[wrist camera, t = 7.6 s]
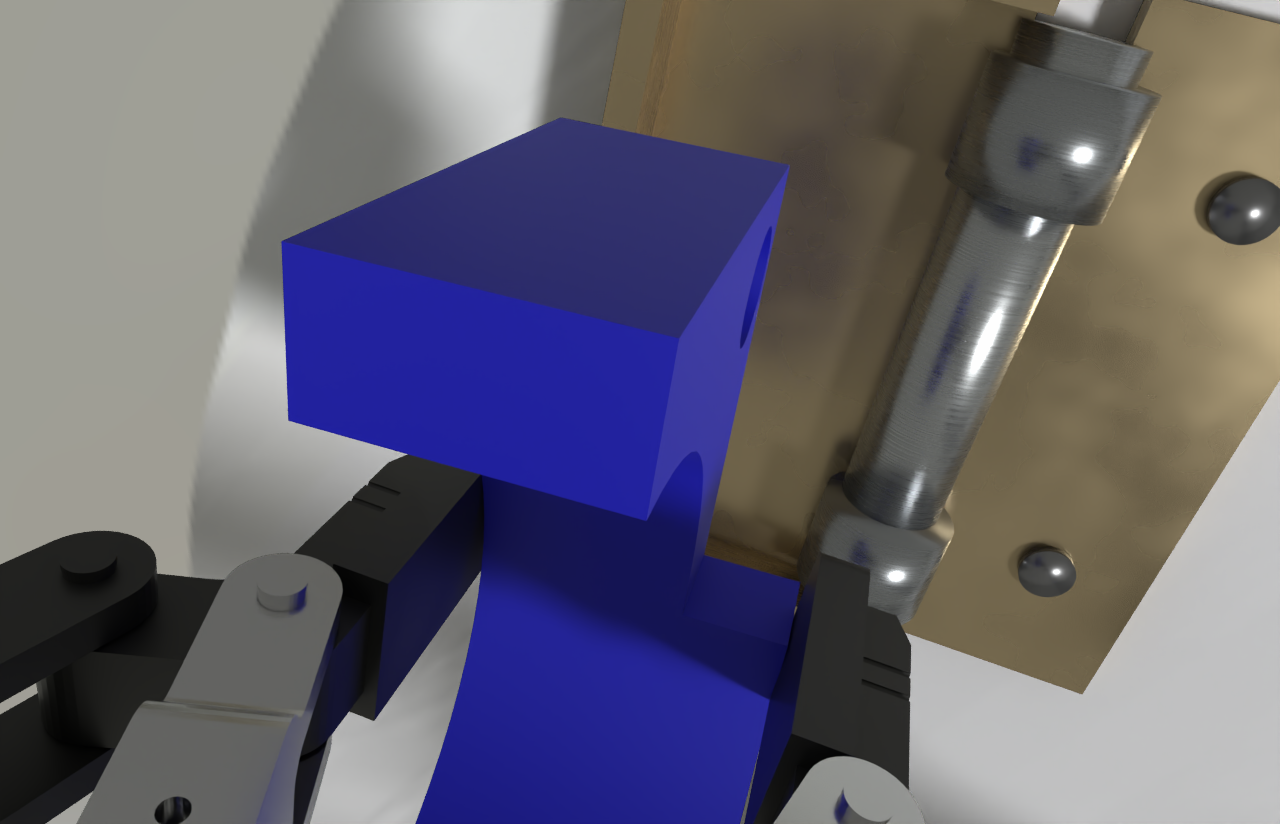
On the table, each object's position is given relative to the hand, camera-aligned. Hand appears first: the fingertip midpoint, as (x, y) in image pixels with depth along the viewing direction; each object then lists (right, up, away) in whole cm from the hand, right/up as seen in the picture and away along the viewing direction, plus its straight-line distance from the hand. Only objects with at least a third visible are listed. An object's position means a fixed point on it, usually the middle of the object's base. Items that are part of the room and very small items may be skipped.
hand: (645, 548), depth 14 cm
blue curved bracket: (0, 0, +1) cm, 1 cm away
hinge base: (+7, +4, +10) cm, 13 cm away
